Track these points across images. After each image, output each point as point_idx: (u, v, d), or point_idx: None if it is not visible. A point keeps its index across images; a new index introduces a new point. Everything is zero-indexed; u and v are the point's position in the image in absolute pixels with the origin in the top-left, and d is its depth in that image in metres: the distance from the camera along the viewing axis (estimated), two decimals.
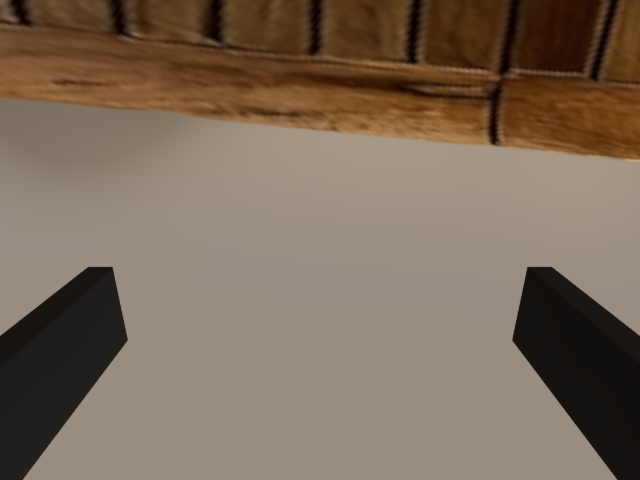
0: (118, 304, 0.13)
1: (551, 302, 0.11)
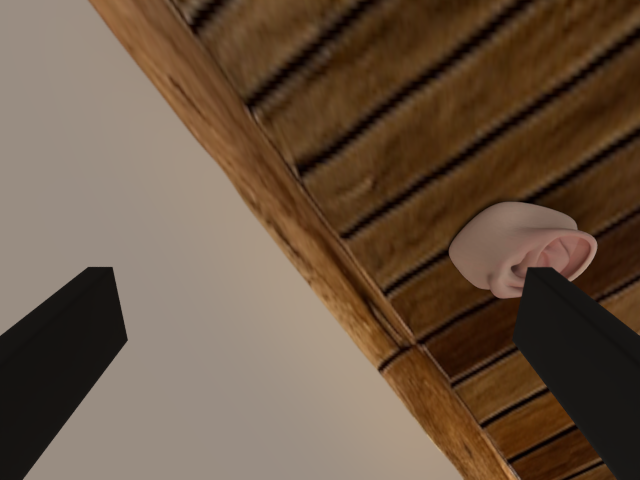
0: (118, 304, 0.13)
1: (551, 301, 0.11)
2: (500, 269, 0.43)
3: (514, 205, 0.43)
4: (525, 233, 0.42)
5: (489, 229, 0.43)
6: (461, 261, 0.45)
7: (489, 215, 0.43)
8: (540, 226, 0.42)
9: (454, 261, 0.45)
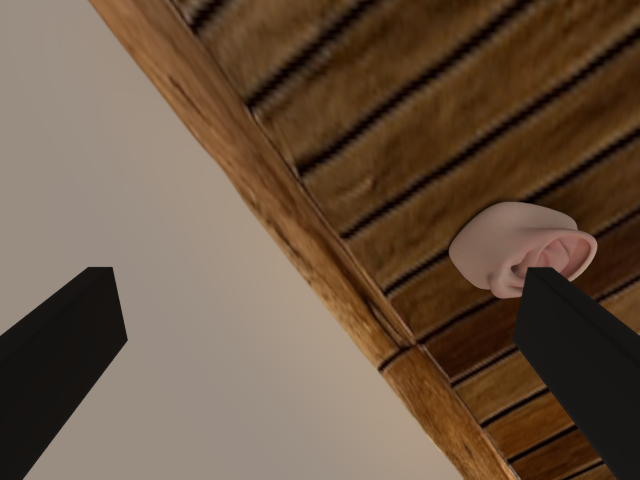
0: (118, 304, 0.13)
1: (551, 301, 0.11)
2: (500, 269, 0.43)
3: (514, 205, 0.43)
4: (525, 233, 0.42)
5: (489, 229, 0.43)
6: (461, 261, 0.45)
7: (489, 215, 0.43)
8: (540, 226, 0.42)
9: (454, 261, 0.45)
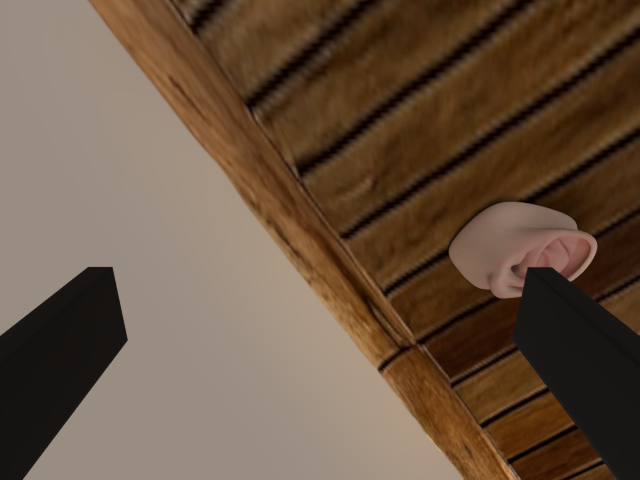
0: (118, 304, 0.13)
1: (551, 301, 0.11)
2: (500, 269, 0.43)
3: (514, 205, 0.43)
4: (525, 233, 0.42)
5: (489, 229, 0.43)
6: (461, 261, 0.45)
7: (489, 215, 0.43)
8: (540, 226, 0.42)
9: (454, 261, 0.45)
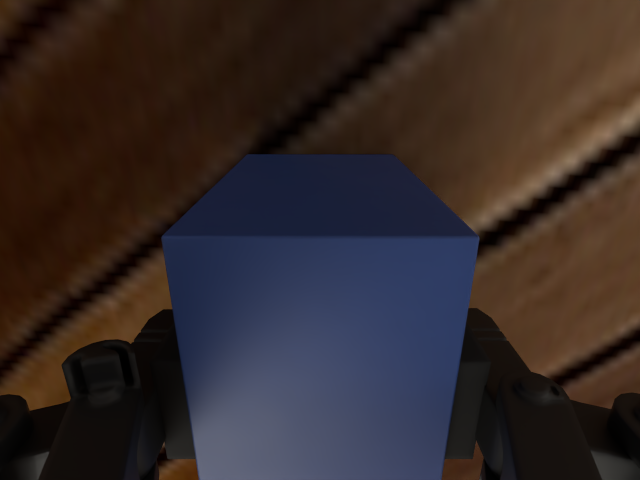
0: None
1: None
2: None
3: None
4: None
5: None
6: None
7: None
8: None
9: None
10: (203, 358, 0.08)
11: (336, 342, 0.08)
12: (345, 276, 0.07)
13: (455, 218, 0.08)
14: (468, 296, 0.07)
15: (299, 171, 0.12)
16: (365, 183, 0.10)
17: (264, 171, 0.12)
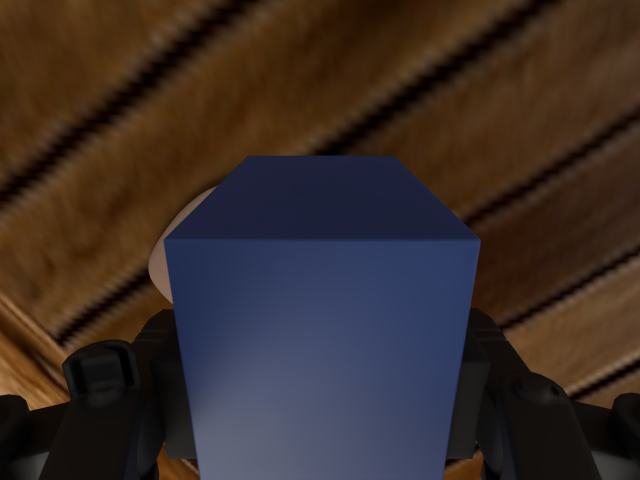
0: None
1: None
2: None
3: None
4: None
5: None
6: (168, 291, 0.24)
7: None
8: None
9: (160, 290, 0.25)
10: (205, 360, 0.08)
11: (337, 344, 0.08)
12: (347, 278, 0.07)
13: (456, 221, 0.08)
14: (469, 299, 0.07)
15: (300, 173, 0.12)
16: (366, 185, 0.10)
17: (265, 173, 0.12)
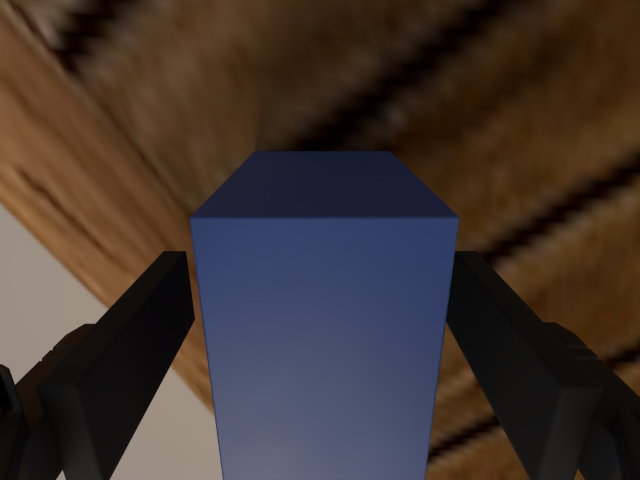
0: (189, 285, 0.14)
1: (468, 281, 0.12)
2: None
3: None
4: None
5: None
6: None
7: None
8: None
9: None
10: (223, 324, 0.09)
11: (338, 310, 0.09)
12: (345, 251, 0.08)
13: (440, 203, 0.09)
14: (451, 269, 0.08)
15: (303, 166, 0.13)
16: (363, 175, 0.12)
17: (271, 165, 0.13)
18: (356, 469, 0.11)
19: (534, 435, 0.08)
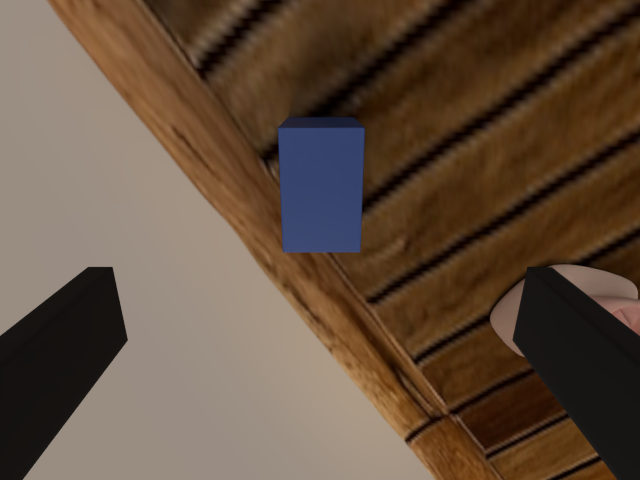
0: (118, 304, 0.13)
1: (551, 302, 0.11)
2: None
3: (567, 269, 0.37)
4: None
5: None
6: (504, 329, 0.39)
7: None
8: (597, 293, 0.37)
9: (496, 328, 0.40)
10: (286, 167, 0.26)
11: (326, 161, 0.26)
12: (328, 139, 0.25)
13: (361, 125, 0.26)
14: (363, 146, 0.25)
15: (313, 120, 0.30)
16: (337, 122, 0.29)
17: (298, 120, 0.30)
18: (334, 232, 0.28)
19: None
